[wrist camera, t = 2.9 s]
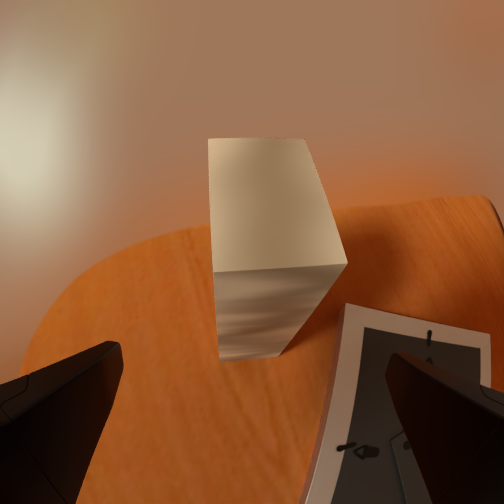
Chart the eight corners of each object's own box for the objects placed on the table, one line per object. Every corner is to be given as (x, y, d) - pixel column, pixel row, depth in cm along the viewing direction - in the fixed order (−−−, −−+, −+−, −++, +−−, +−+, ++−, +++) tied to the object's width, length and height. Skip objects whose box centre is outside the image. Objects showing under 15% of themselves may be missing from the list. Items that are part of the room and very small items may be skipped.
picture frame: (444, 542, 11) (476, 341, 22) (462, 548, 8) (495, 331, 19) (275, 560, 12) (336, 312, 23) (282, 576, 9) (349, 298, 20)
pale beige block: (219, 361, 19) (213, 272, 8) (213, 283, 22) (208, 138, 11) (277, 356, 20) (348, 263, 9) (266, 279, 23) (304, 139, 12)
